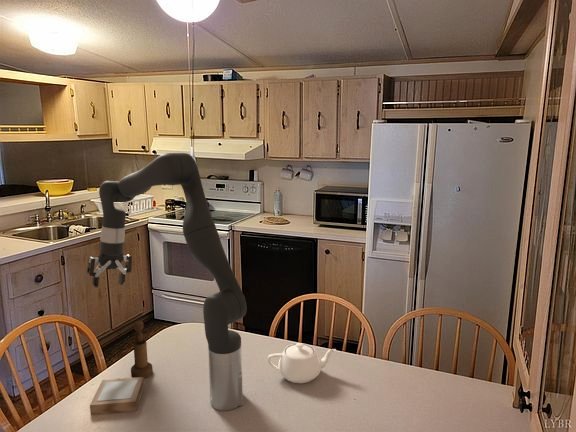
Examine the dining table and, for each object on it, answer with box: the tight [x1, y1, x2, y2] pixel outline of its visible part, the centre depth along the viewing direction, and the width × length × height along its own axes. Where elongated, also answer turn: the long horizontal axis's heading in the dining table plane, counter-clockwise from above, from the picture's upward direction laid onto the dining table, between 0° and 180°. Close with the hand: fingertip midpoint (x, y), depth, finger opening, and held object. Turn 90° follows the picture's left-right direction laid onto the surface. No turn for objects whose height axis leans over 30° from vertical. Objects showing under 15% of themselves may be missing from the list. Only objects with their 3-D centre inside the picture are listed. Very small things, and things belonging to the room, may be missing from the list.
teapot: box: [267, 342, 337, 384], centre depth 133 cm, size 22×14×11 cm, turn 94°
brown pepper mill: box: [130, 320, 154, 379], centre depth 133 cm, size 7×6×18 cm
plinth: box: [89, 377, 145, 416], centre depth 121 cm, size 12×12×3 cm
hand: (108, 285), depth 143 cm, fingers open, 8 cm apart
